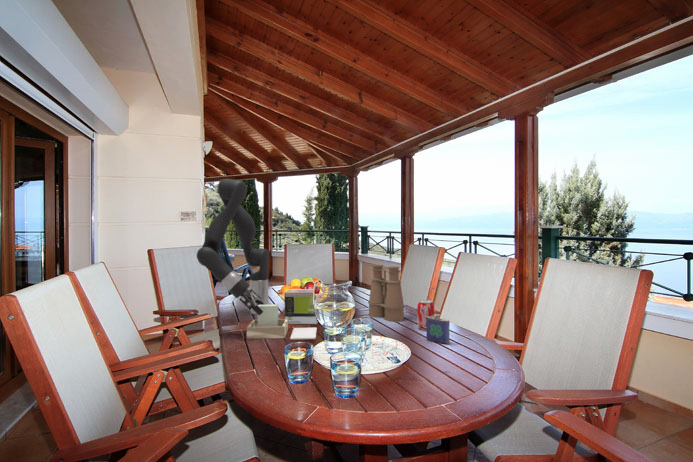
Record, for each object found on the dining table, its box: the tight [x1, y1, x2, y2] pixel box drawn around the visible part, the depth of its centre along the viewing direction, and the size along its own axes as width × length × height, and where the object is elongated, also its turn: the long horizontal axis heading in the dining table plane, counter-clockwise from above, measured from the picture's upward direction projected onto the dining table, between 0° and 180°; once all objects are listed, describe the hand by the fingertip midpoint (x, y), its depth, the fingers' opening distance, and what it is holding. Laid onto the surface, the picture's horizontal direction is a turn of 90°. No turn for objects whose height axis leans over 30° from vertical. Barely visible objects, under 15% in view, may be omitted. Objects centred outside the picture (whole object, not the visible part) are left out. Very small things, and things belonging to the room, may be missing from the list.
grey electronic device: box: [284, 288, 319, 325], centre depth 167 cm, size 15×10×15 cm
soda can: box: [416, 299, 435, 332], centre depth 154 cm, size 7×7×12 cm
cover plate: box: [257, 304, 279, 327], centre depth 149 cm, size 3×8×12 cm, turn 93°
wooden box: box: [246, 318, 289, 340], centre depth 149 cm, size 12×15×4 cm
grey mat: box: [289, 327, 318, 340], centre depth 148 cm, size 14×10×1 cm
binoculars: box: [367, 264, 405, 323], centre depth 174 cm, size 21×10×25 cm, turn 41°
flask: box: [425, 313, 451, 345], centre depth 137 cm, size 9×3×11 cm, turn 50°
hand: (263, 311), depth 148 cm, fingers open, 8 cm apart
